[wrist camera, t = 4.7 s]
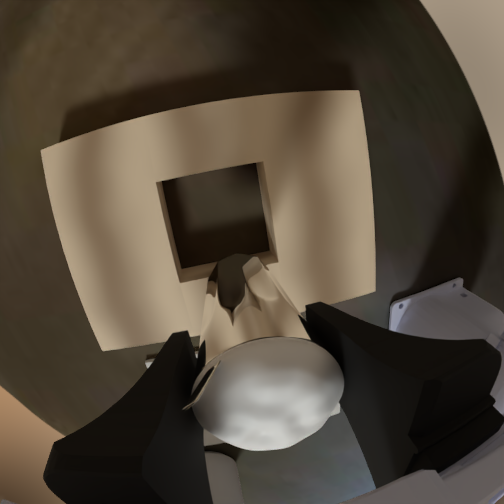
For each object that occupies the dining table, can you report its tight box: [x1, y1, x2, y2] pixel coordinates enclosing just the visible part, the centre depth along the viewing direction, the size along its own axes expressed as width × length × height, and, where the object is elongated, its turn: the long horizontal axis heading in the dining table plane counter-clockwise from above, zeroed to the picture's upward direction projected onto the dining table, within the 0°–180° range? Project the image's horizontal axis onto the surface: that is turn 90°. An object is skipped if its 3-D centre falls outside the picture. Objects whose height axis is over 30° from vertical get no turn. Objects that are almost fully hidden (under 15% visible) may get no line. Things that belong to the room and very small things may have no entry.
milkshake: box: [182, 253, 344, 451], centre depth 11 cm, size 4×5×10 cm
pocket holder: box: [41, 90, 375, 351], centre depth 19 cm, size 20×14×2 cm
